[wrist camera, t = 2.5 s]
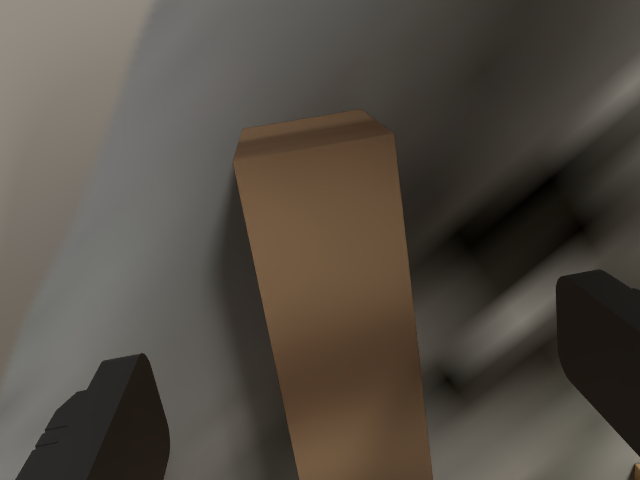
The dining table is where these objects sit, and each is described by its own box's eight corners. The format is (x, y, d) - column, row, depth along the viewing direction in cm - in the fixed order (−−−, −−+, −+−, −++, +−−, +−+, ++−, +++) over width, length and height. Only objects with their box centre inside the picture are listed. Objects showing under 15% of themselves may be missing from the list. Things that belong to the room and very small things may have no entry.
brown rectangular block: (239, 129, 19) (228, 164, 14) (363, 108, 19) (400, 135, 14) (303, 442, 24) (312, 564, 18) (404, 424, 24) (444, 539, 18)
